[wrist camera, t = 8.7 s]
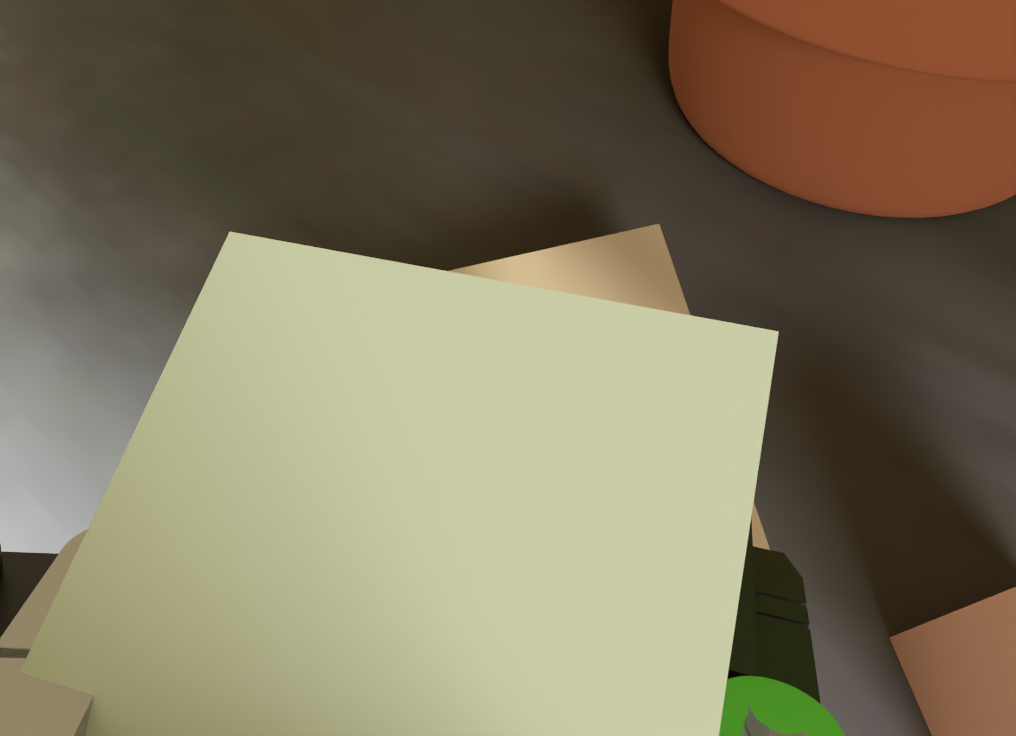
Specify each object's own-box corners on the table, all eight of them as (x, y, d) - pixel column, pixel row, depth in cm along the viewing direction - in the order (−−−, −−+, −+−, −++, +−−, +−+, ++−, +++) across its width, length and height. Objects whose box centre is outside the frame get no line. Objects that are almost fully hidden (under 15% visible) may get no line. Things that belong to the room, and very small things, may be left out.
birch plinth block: (650, 297, 32) (659, 223, 28) (767, 664, 26) (803, 646, 22) (304, 374, 32) (257, 313, 28) (342, 758, 26) (289, 759, 22)
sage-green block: (672, 575, 16) (778, 332, 7) (619, 868, 14) (669, 1081, 5) (426, 515, 17) (229, 230, 8) (343, 781, 15) (-52, 821, 6)
